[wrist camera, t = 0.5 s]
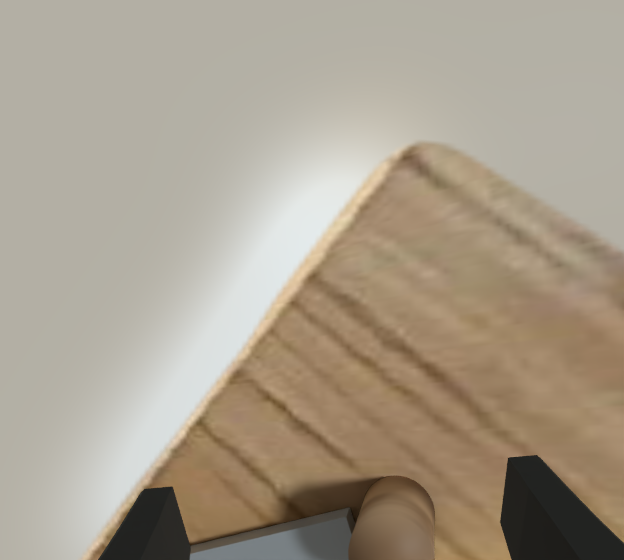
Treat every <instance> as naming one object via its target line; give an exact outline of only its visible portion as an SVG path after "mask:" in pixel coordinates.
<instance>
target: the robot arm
mask: <svg viewBox="0 0 624 560" xmlns="http://www.w3.org/2000/svg"><path fill="white" fill-rule="evenodd" d="M500 523H501V526H502V530H503V533H504V536H505V540H506V543H507V546H508V550H509V553H510V556H511V559H512V560H624V543H623V542H622V541H621V540H620V539H619V538H618V537H617V536H616V535H615V534H614V533H613V532H612V531H611V530H610V529H609V528H608V527H607V526H606V525H604V524H603V523H602V522H601V521H600V520H599V519H598V518H597V517H596V516H595V515H594V514H593V513H592V512H591V511H590V509H589V508H588V507H587V506H586V505H585V504H584V503H583V502H582V501H581V500H580V499H579V498H578V497H577V496H576V495H575V494H574V493H573V492H572V491H571V490H570V489H569V488H568V487H567V486H566V485H565V484H564V483H563V481H562V480H561V479H560V478H559V477H558V476H557V475H556V474H555V473H554V472H553V471H552V470H551V469H550V468H549V467H548V466H547V464H546V463H545V462H544V461H543V460H542V459H541V458H540V457H538V456H537V455H534V456H522V457H510V458H508V463H507V471H506V479H505V488H504V496H503V504H502V512H501V520H500ZM190 552H191V547H190V544H189V541H188V537H187V534H186V530H185V527H184V524H183V520H182V517H181V514H180V510H179V507H178V503H177V500H176V497H175V493H174V490H173V487H163V488H151V489H144V490H143V491H142V492H141V493H140V495H139V496H138V498H137V500H136V501H135V503H134V505H133V506H132V508H131V509H130V511H129V513H128V514H127V516H126V517H125V519H124V521H123V522H122V524H121V525H120V527H119V529H118V530H117V532H116V533H115V535H114V536H113V538H112V539H111V541H110V543H109V544H108V546H107V547H106V549H105V550H104V552H103V553H102V555H101V556H100V558H99V559H98V560H190Z"/></svg>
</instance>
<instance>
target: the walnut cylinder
mask: <svg viewBox="0 0 624 560" xmlns="http://www.w3.org/2000/svg"><path fill="white" fill-rule="evenodd" d="M348 557H349V560H435V511H434V506H433V502H432V500H431V498H430V496H429V494H428V493H427V492H426V490H425V489H424V488H423V487H422V486H421V485H420V484H418V483H417V482H415V481H414V480H412V479H409V478H406V477H402V476H388V477H385V478H382V479H380V480H378V481H377V482H375V483H374V484H373V485H372V486H371V487H370V488H369V490H368V491H367V493H366V495H365V498H364V501H363V504H362V507H361V510H360V513H359V516H358V519H357V522H356V525H355V528H354V531H353V533H352V536H351V539H350V543H349V549H348Z"/></svg>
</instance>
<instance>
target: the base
mask: <svg viewBox="0 0 624 560" xmlns="http://www.w3.org/2000/svg"><path fill="white" fill-rule="evenodd" d="M354 528H355V522H354V519H353V516H352V513H351V509H350V507H349V508H345V509H340V510H336V511H332V512H328V513H324V514H320V515H316V516H311V517H307V518H303V519H299V520H295V521H291V522H287V523H282V524H278V525H274V526H270V527H266V528H262V529H258V530H253V531H249V532H245V533H241V534H237V535H233V536H229V537H224V538H220V539H216V540H212V541H208V542H204V543H200V544H195V545H191V546H190V547H191V552H190V560H349V557H348V549H349V543H350V539H351V536H352V533H353V531H354Z"/></svg>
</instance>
